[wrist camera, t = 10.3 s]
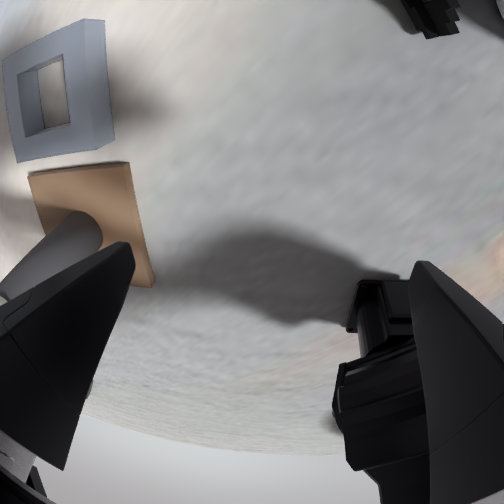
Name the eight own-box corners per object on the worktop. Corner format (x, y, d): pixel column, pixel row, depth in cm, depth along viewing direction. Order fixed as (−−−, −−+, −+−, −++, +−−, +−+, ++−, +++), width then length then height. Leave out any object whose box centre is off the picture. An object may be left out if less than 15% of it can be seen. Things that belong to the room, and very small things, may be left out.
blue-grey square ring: (115, 139, 20) (96, 149, 18) (35, 153, 22) (17, 163, 19) (104, 20, 15) (84, 18, 13) (22, 56, 16) (2, 60, 14)
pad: (155, 281, 28) (151, 288, 27) (66, 270, 30) (61, 275, 29) (129, 162, 21) (123, 166, 21) (33, 172, 23) (27, 176, 22)
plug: (113, 245, 25) (36, 351, 15) (83, 258, 27) (12, 351, 16) (86, 201, 23) (-11, 296, 13) (58, 218, 24) (-26, 305, 14)
